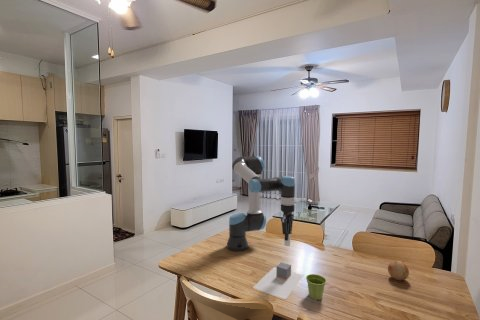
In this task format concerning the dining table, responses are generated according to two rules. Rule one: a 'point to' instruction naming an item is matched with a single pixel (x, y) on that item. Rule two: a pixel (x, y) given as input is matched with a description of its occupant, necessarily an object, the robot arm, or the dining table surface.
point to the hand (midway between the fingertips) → (287, 245)
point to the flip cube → (283, 271)
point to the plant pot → (315, 285)
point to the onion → (398, 270)
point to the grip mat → (278, 284)
